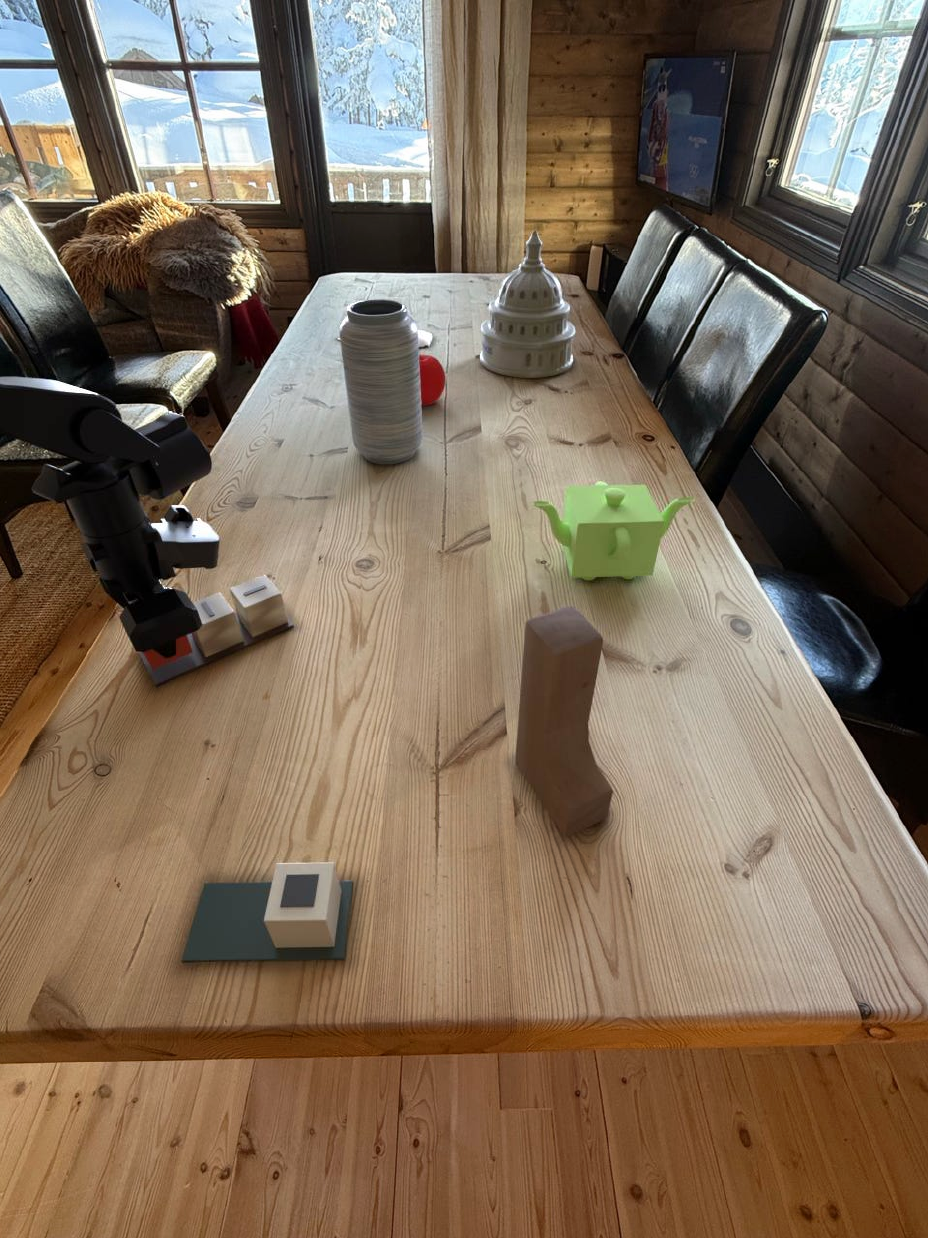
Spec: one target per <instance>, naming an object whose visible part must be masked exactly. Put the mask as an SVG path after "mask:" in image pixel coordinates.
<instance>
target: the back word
mask: <svg viewBox="0 0 928 1238" xmlns="http://www.w3.org/2000/svg"><path fill="white" fill-rule="evenodd" d="M228 589H229V592H230V595H231V598H232V599H231V600H232V602H233V605H234V608H235V610H234V609H233V608H232V607H231V605H230V603H228V601H227V600H226V598H225V597H224V596H223V594H222V593H221V592H220V591H219V592H217V593H214V594H212V595H209V596H207V597H204V598H202V599H198V600H196V601H192V603H193V604H194V606H195V607H196V609H197V610H198V613H199V616H200V619H201V622H202V624H203V625H202V626H201V628H200V629H199V630H198V631H195V632H193V633H190V634H188V635H187V638H188V640H189V643H190V645H191V648H192V651H193V653H190V654H188V655H185V656H183V657H181V658H178V659H176V660H174V661H171V662H169V663H166V664H164V665H162V666H159V667H157V668H155V669H152V668H151V667H150V665H149V663H148V661H147V659H146V657H145V656H144V654H143V652H138V656H139V658H140V660H141V662H142V663H143V665H144V667H145V669H146V671H147V672H148V675H149V677H150V679H151V680H152V682H153V684H154V686H155V688H159V687H160V686H163V685H165V684H167V683H169V682H172V681H174V680H176V679H179V678H180V677H183V676H186V675H188V674H190V673H193V672H195V671H197V670H200V669H202V668H205V667H207V666H209V665H212V664H213V663H216V662H218V661H220V660H222V659H224V658H227V657H229V656H231V655H234V654H235V653H238V652H240V651H243V650H245V649H248V648H250V647H252V646H255V645H256V644H259V643H262V642H264V641H266V640H268V639H271V638H273V637H276V636H278V635H280V634H283V633H284V632H287V631H289V630H292V629H294V628H295V624H293V622H292V621H291V620H290V618H288V615H287V612H286V607H285V603H284V599H283V594H282V592H281V591H280V590H279V588H278V587H277V586H276V585H275V584H274V583H273V582H272V581H271V579H270V578H269V577H268V576H267V575H266V574H262V575H260V576H258V577H254V578H253V579H250V580H248V581H244V582H242V583H240V584H237V585H234V586H232V587H230V588H228Z"/></svg>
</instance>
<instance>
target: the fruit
mask: <svg viewBox="0 0 928 1238" xmlns="http://www.w3.org/2000/svg"><path fill="white" fill-rule="evenodd" d="M419 365H420V385H421V406H422V407H423V406H430V405H432V404H435V402H437V401H438V400H439V399H440V397H441V396H442V394H443V391H444V390H445V388H446V387H445V386H446V374H445V370H444V367H443V365H442V364H441V362H440V360H439V359H437V358H436V357H434V356H433V355H430V354H419Z"/></svg>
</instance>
